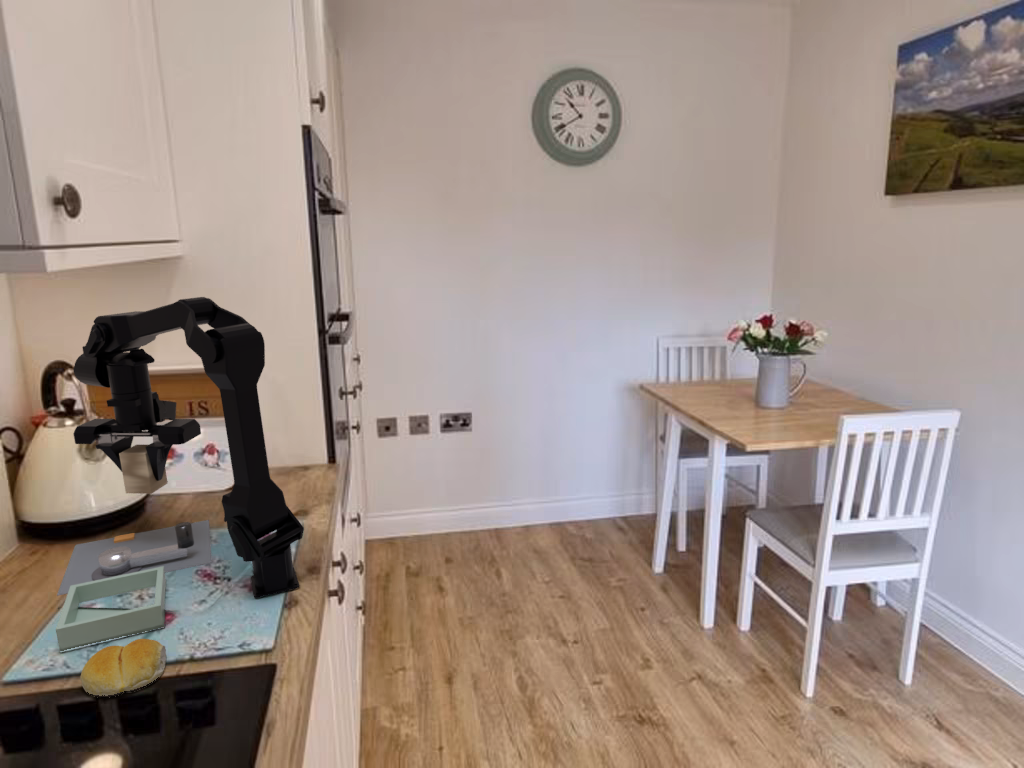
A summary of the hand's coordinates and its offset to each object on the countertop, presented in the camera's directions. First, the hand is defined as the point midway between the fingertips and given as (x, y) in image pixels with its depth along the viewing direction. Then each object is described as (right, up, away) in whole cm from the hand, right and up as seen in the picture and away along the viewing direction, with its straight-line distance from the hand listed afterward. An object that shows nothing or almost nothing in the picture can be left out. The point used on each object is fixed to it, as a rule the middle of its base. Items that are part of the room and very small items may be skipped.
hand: (145, 479), depth 110 cm
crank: (+3, -12, -5) cm, 14 cm away
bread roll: (+14, -20, -30) cm, 39 cm away
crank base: (0, -13, -1) cm, 13 cm away
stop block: (0, -1, 0) cm, 2 cm away
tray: (+6, -17, -18) cm, 25 cm away
